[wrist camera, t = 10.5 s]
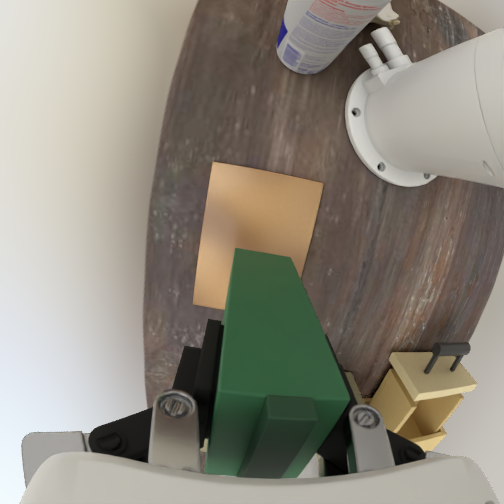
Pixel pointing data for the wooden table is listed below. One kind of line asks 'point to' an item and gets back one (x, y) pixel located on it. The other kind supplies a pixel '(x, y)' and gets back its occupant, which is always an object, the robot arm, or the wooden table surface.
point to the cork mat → (252, 223)
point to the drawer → (423, 389)
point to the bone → (386, 17)
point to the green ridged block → (271, 374)
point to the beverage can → (321, 30)
